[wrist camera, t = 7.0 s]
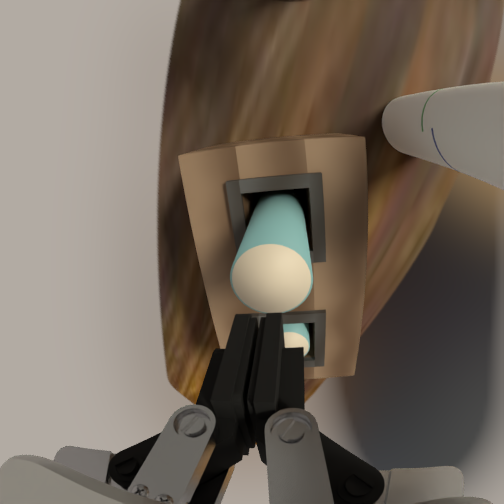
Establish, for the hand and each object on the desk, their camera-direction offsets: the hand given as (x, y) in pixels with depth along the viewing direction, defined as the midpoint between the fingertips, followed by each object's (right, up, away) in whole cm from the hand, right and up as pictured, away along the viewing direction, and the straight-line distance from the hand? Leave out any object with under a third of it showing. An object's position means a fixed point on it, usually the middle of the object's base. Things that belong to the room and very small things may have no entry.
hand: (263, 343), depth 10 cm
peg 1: (+2, +7, +14) cm, 16 cm away
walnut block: (+4, +5, +25) cm, 26 cm away
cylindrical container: (+18, +18, +17) cm, 31 cm away
